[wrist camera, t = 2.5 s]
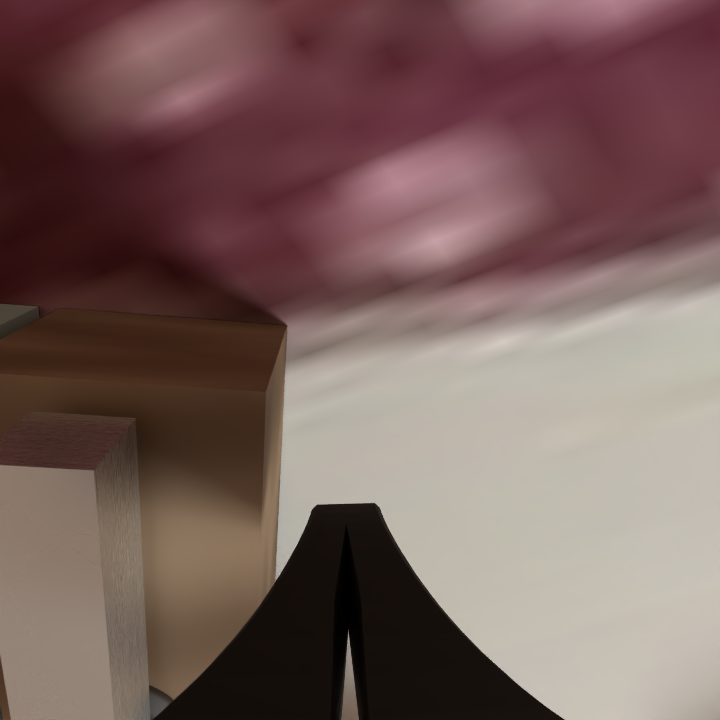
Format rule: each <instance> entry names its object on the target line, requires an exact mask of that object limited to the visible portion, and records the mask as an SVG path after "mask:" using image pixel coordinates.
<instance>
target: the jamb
mask: <svg viewBox="0 0 720 720" xmlns="http://www.w3.org/2000/svg"><path fill="white" fill-rule="evenodd" d="M286 341H287V325H275V324H261V323H248V322H235V321H222V320H209V319H196V318H183V317H170V316H156V315H143V314H130V313H117V312H104V311H91V310H78V309H64V308H59V309H57V310H55V311H54V312H52V313H50V314H48V315H46V316H44V317H42V318H40V319H38V320H36V321H35V322H33V323H31V324H29V325H27V326H25V327H23V328H21V329H19V330H17V331H16V332H14V333H12V334H10V335H8V336H6V337H4V338H2V339H0V437H1V436H3V435H4V434H5V433H6V432H7V431H9V430H10V429H11V428H12V427H14V426H15V425H16V424H17V423H18V422H20V421H21V420H22V419H23V418H25V417H26V416H27V415H28V414H30V413H31V412H32V411H34V412H50V413H65V414H80V415H96V416H111V417H127V418H136V437H137V457H138V477H139V497H140V517H141V537H142V557H143V577H144V597H145V617H146V637H147V657H148V677H149V697H150V717H151V720H152V719H153V718H155V717H156V716H157V715H158V714H159V713H160V712H161V711H162V710H163V709H165V708H166V707H167V706H168V705H169V704H170V703H171V702H172V701H173V700H174V699H175V698H176V697H177V696H178V695H180V694H181V693H182V692H183V691H184V690H185V689H186V688H187V687H188V686H189V685H190V684H191V683H192V682H193V681H195V680H196V679H197V678H198V677H199V676H200V675H201V674H202V673H203V672H204V670H205V669H206V668H207V667H208V666H209V665H210V664H211V663H212V662H213V661H214V660H215V659H216V658H217V656H218V655H219V654H220V653H221V652H222V651H223V650H224V649H225V648H226V646H227V645H228V644H229V643H230V642H231V641H232V640H233V639H234V637H235V636H236V635H237V634H238V632H239V631H240V630H241V629H242V628H243V626H244V625H245V624H246V623H247V621H248V620H249V619H250V617H251V616H252V615H253V614H254V612H255V611H256V609H257V608H258V607H259V605H260V604H261V603H262V601H263V600H264V598H265V597H266V595H267V594H268V592H269V591H270V589H271V588H272V586H273V585H274V583H275V572H276V551H277V530H278V509H279V488H280V467H281V446H282V425H283V404H284V383H285V362H286ZM0 705H1V711H2V716H3V720H11V717H10V711H9V705H8V699H7V693H6V687H5V681H4V675H3V669H2V663H1V657H0Z"/></svg>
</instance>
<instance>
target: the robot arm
mask: <svg viewBox="0 0 720 720" xmlns="http://www.w3.org/2000/svg"><path fill="white" fill-rule="evenodd" d="M348 630H349V638H350V647H351V656H352V664H353V673H354V681H355V690H356V698H357V707H358V715H359V720H564V719H563V718H561V717H560V716H558V715H557V714H556V713H554V712H553V711H551V710H550V709H548V708H547V707H546V706H544V705H543V704H542V703H540V702H539V701H538V700H537V699H535V698H534V697H533V696H532V695H530V694H529V693H528V692H526V691H525V690H524V689H523V688H521V687H520V686H519V685H518V684H517V683H516V682H514V681H513V680H512V679H511V678H510V677H509V676H508V675H507V674H506V673H505V672H503V671H502V670H501V669H500V668H499V667H498V666H497V665H496V664H495V663H493V662H492V661H491V660H490V659H489V658H488V657H487V656H486V655H485V654H483V653H482V652H481V651H480V650H479V649H478V648H477V647H476V645H475V644H474V643H473V642H472V641H471V640H470V639H469V638H468V637H467V636H466V635H465V634H464V633H463V632H462V631H461V630H460V629H459V628H458V626H457V625H456V624H455V623H454V622H453V621H452V620H451V619H450V618H449V616H448V615H447V614H446V613H445V612H444V610H443V609H442V608H441V607H440V606H439V604H438V603H437V602H436V601H435V599H434V598H433V597H432V595H431V594H430V593H429V591H428V590H427V589H426V587H425V586H424V585H423V583H422V582H421V581H420V579H419V578H418V576H417V575H416V573H415V572H414V571H413V569H412V567H411V566H410V564H409V563H408V561H407V560H406V558H405V556H404V555H403V553H402V552H401V550H400V548H399V547H398V545H397V543H396V542H395V540H394V538H393V536H392V534H391V532H390V531H389V529H388V527H387V524H386V522H385V520H384V518H383V515H382V513H381V510H380V508H379V507H378V506H377V505H376V504H375V503H362V504H326V505H316V506H315V507H314V508H313V509H312V511H311V515H310V518H309V520H308V523H307V525H306V527H305V530H304V532H303V534H302V536H301V538H300V540H299V542H298V544H297V546H296V548H295V550H294V551H293V553H292V555H291V557H290V559H289V560H288V562H287V564H286V566H285V567H284V569H283V571H282V572H281V574H280V576H279V577H278V579H277V580H276V582H275V583H274V585H273V586H272V588H271V589H270V591H269V592H268V594H267V595H266V597H265V598H264V600H263V601H262V603H261V604H260V605H259V607H258V608H257V609H256V611H255V612H254V614H253V615H252V616H251V617H250V619H249V620H248V621H247V623H246V624H245V625H244V626H243V628H242V629H241V630H240V631H239V632H238V634H237V635H236V636H235V637H234V639H233V640H232V641H231V642H230V643H229V644H228V645H227V646H226V648H225V649H224V650H223V651H222V652H221V653H220V654H219V655H218V656H217V658H216V659H215V660H214V661H213V662H212V663H211V664H210V665H209V666H208V667H207V668H206V669H205V670H204V672H203V673H202V674H201V675H200V676H199V677H198V678H197V679H196V680H195V681H193V682H192V683H191V684H190V685H189V686H188V687H187V688H186V689H185V690H184V691H183V692H182V693H181V694H180V695H178V696H177V697H176V698H175V699H174V700H173V701H172V702H171V703H170V704H169V705H168V706H167V707H166V708H165V709H163V710H162V711H161V712H160V713H159V714H158V715H157V716H156V717H155V718H153V719H152V720H341V716H342V704H343V691H344V678H345V666H346V653H347V640H348Z"/></svg>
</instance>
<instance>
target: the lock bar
mask: <svg viewBox="0 0 720 720" xmlns="http://www.w3.org/2000/svg"><path fill="white" fill-rule="evenodd" d="M0 657H1V663H2V669H3V675H4V681H5V687H6V693H7V699H8V705H9V711H10V717H11V720H151V717H150V697H149V677H148V657H147V637H146V617H145V597H144V577H143V557H142V537H141V517H140V497H139V477H138V457H137V437H136V418H127V417H111V416H96V415H80V414H65V413H50V412H34V411H32V412H31V413H30V414H28V415H27V416H26V417H25V418H23V419H22V420H21V421H20V422H18V423H17V424H16V425H15V426H14V427H12V428H11V429H10V430H9V431H7V432H6V433H5V434H4V435H3V436H1V437H0Z"/></svg>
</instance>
